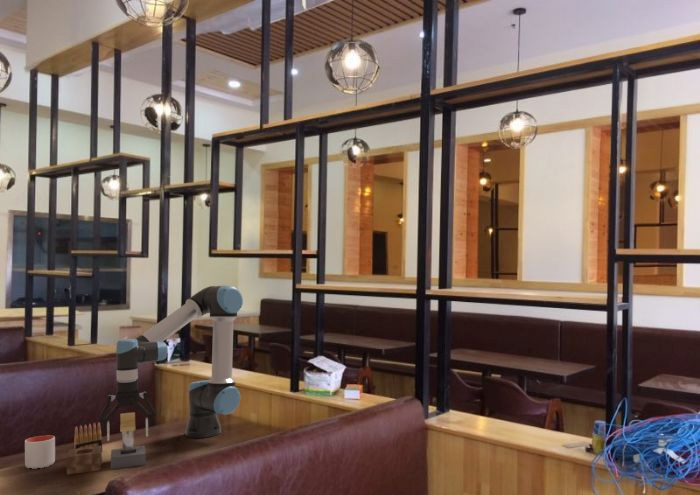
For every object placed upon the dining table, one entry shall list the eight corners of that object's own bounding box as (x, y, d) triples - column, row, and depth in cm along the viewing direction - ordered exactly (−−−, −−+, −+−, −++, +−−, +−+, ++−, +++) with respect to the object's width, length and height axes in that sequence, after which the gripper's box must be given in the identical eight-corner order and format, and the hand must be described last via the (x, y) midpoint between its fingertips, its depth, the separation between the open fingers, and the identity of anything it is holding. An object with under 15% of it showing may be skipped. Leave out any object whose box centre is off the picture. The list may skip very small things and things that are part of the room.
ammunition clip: (75, 458, 235) (74, 426, 235) (73, 457, 236) (72, 426, 237) (102, 452, 242) (102, 421, 243) (100, 451, 244) (100, 421, 244)
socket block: (144, 456, 234) (144, 418, 235) (145, 464, 223) (145, 425, 224) (111, 460, 230) (111, 422, 231) (110, 469, 219) (110, 429, 220)
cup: (34, 471, 219) (34, 443, 220) (19, 467, 225) (19, 440, 225) (60, 463, 228) (60, 437, 228) (45, 460, 233) (45, 434, 234)
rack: (101, 461, 228) (101, 445, 229) (100, 470, 218) (100, 453, 218) (69, 465, 225) (69, 449, 225) (66, 474, 214) (66, 457, 215)
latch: (135, 424, 225) (134, 412, 225) (135, 430, 215) (135, 417, 216) (120, 426, 223) (120, 413, 223) (120, 432, 214) (120, 419, 214)
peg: (134, 460, 229) (133, 422, 230) (134, 463, 225) (133, 425, 226) (122, 461, 228) (122, 424, 228) (122, 464, 224) (122, 426, 225)
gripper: (161, 376, 236) (162, 431, 235) (91, 382, 227) (92, 439, 226) (162, 379, 229) (163, 436, 228) (90, 385, 220) (91, 444, 219)
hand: (127, 437), depth 227 cm, fingers open, 13 cm apart
